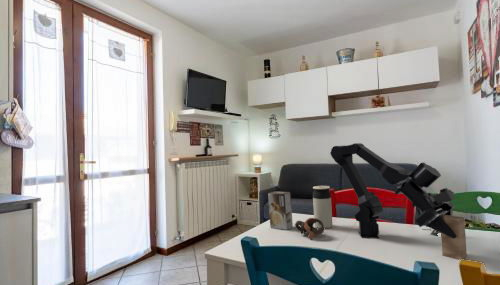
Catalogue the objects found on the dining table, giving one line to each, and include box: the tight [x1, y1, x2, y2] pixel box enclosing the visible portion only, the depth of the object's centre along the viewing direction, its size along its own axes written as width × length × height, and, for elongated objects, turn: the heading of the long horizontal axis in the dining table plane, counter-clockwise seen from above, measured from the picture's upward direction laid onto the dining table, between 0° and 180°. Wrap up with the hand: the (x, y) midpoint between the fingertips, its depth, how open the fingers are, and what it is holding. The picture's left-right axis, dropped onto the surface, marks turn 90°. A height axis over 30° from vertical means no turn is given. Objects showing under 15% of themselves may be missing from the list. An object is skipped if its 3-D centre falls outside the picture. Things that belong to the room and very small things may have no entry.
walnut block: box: [440, 215, 468, 261], centre depth 88 cm, size 5×5×12 cm
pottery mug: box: [294, 217, 326, 240], centre depth 114 cm, size 12×10×8 cm
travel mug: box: [312, 185, 334, 229], centre depth 127 cm, size 8×8×18 cm
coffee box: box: [267, 191, 294, 231], centre depth 129 cm, size 9×6×16 cm
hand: (458, 235), depth 87 cm, fingers closed on walnut block, 5 cm apart
